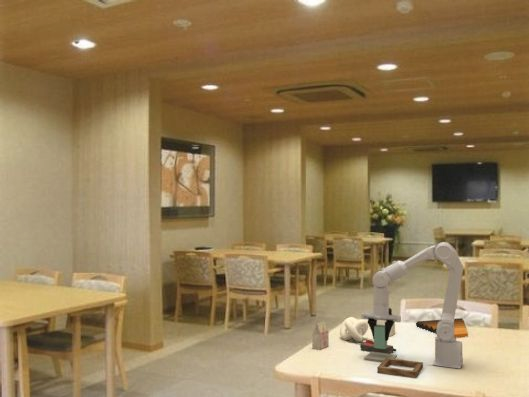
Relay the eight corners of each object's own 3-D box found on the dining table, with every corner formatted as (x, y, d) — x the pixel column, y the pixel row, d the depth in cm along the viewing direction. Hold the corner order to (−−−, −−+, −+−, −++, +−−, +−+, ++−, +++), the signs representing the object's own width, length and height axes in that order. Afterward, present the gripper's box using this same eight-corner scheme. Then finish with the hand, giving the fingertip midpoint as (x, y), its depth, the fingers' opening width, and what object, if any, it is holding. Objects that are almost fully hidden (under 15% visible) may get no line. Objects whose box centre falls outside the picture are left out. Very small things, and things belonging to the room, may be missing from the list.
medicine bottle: (395, 334, 249) (395, 307, 249) (389, 337, 243) (389, 309, 243) (379, 332, 253) (380, 305, 253) (374, 335, 247) (374, 308, 247)
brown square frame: (422, 368, 197) (422, 362, 197) (415, 378, 185) (415, 372, 185) (386, 363, 203) (386, 357, 203) (377, 372, 191) (377, 367, 191)
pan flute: (459, 324, 272) (415, 327, 265) (459, 317, 273) (415, 320, 265) (495, 335, 249) (448, 339, 241) (495, 328, 249) (448, 332, 241)
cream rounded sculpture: (360, 335, 246) (360, 315, 246) (374, 342, 234) (374, 320, 234) (337, 337, 242) (337, 316, 242) (349, 344, 231) (350, 322, 231)
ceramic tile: (397, 356, 211) (397, 354, 211) (390, 363, 202) (390, 361, 202) (371, 353, 216) (371, 351, 216) (364, 359, 207) (364, 357, 207)
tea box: (312, 348, 223) (312, 323, 223) (320, 345, 228) (320, 321, 228) (320, 350, 220) (320, 325, 221) (328, 346, 226) (328, 322, 226)
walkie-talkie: (399, 352, 219) (356, 343, 232) (399, 341, 219) (356, 333, 232) (388, 357, 212) (344, 347, 226) (388, 345, 212) (344, 336, 226)
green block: (387, 346, 210) (387, 325, 210) (384, 349, 206) (384, 327, 206) (376, 345, 212) (376, 324, 212) (374, 347, 208) (374, 326, 208)
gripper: (359, 303, 209) (359, 339, 209) (397, 306, 203) (397, 344, 202) (364, 300, 215) (364, 335, 215) (402, 303, 209) (401, 339, 209)
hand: (380, 339), depth 209 cm, fingers closed on green block, 4 cm apart
